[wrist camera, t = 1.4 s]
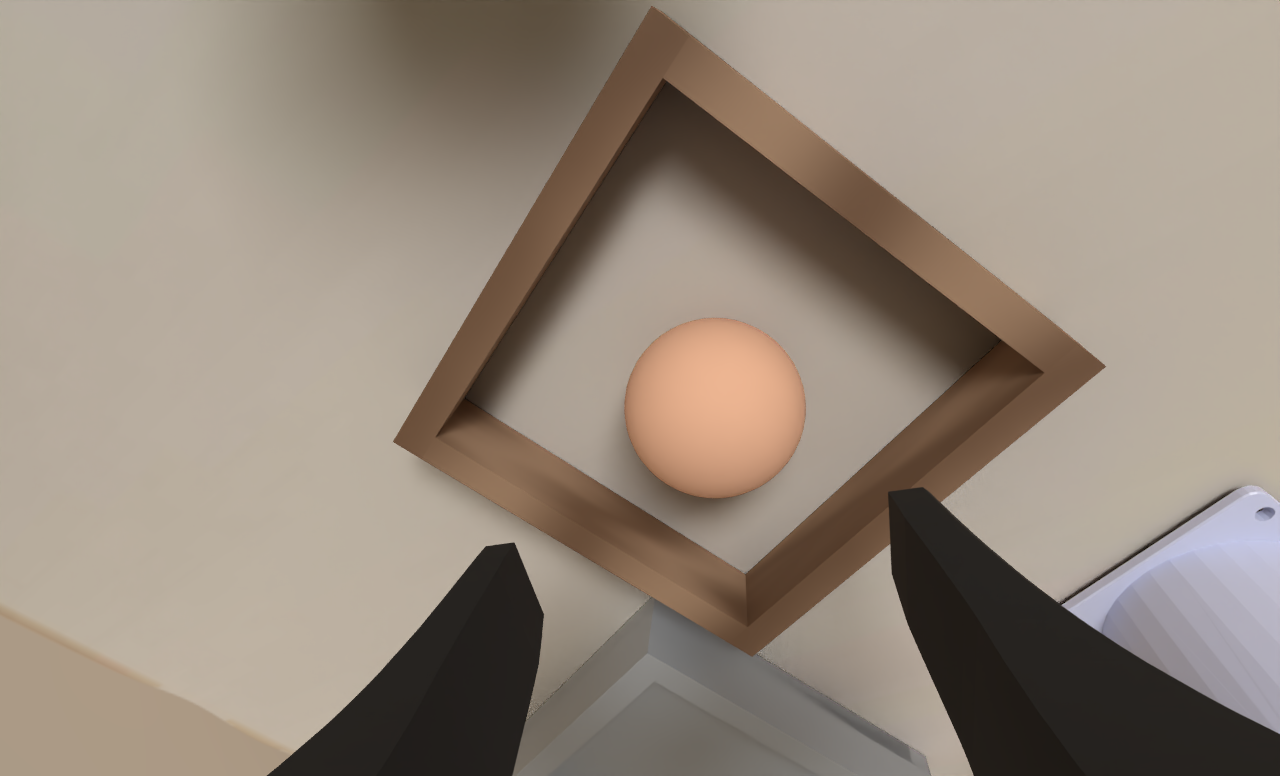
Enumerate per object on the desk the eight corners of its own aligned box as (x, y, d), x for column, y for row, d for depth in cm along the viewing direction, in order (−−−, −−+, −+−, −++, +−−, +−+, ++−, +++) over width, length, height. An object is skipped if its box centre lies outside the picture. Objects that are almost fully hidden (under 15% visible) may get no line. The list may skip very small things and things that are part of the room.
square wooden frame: (1061, 328, 19) (1105, 366, 16) (749, 602, 25) (752, 656, 23) (661, 11, 16) (651, 6, 14) (425, 403, 22) (393, 441, 20)
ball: (831, 355, 20) (861, 443, 15) (729, 462, 22) (729, 566, 18) (698, 260, 19) (690, 324, 15) (606, 381, 21) (574, 469, 17)
